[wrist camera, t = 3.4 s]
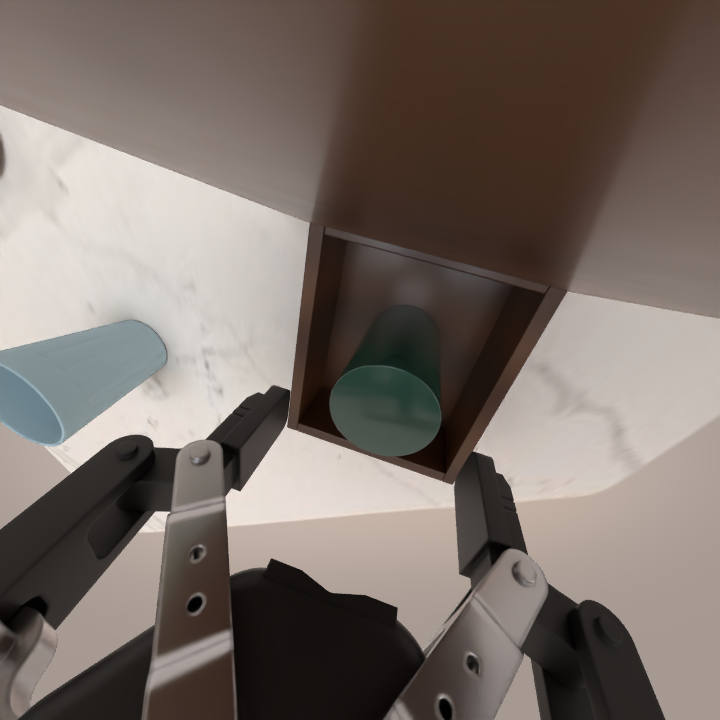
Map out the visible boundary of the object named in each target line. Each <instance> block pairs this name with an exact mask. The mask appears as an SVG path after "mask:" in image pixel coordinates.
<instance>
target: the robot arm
mask: <svg viewBox="0 0 720 720" xmlns="http://www.w3.org/2000/svg"><path fill="white" fill-rule="evenodd" d="M289 402H290V390H287V389H284V388H281V387H278V386H275V385H273V386H271V387H270V389H269V390H268V391H267V392H266V393H265V394H261V393H256V394H254V395H252V396H249V397H247V398H246V399H245V400H244V401H243V402H242V403H241V404H240V405H239V407H237V408H236V409H235V410H234V411H233V413H232V414H230V415H229V416H228V417H227V418H226V419H225V420H224V421H223V422H222V423H221V424H220V425H219V426H218V427H217V428H216V430H215V431H214V432H213V433H212V434H211V435H210V436H209V437H208V438H206V439H205V440H198V441H195V442H192V443H190V444H188V445H186V446H185V447H183V448H181V449H174V448H156V447H154V445H153V442H152V440H151V439H150V438H148V437H146V436H143V435H129V436H125V437H121V438H119V439H116V440H114V441H113V442H111V443H109V444H108V445H107V446H105V447H104V448H103V449H102V450H100V451H99V452H98V453H97V454H95V455H94V456H93V457H92V458H90V459H89V460H88V461H86V462H85V463H84V464H83V465H81V466H80V467H79V468H78V469H76V470H75V471H74V472H73V473H71V474H70V475H69V476H68V477H66V478H65V479H64V480H63V481H61V482H60V483H59V484H57V485H56V486H55V487H54V488H52V489H51V490H50V491H49V492H47V493H46V494H45V495H44V496H42V497H41V498H40V499H38V500H37V501H36V502H35V503H33V504H32V505H31V506H30V507H28V508H27V509H26V510H25V511H23V512H22V513H21V514H20V515H18V516H17V517H16V518H14V519H13V520H12V521H11V522H9V523H8V524H7V525H6V526H4V527H3V528H2V529H1V530H0V720H494V718H495V716H496V714H497V712H498V710H499V708H500V706H501V704H502V702H503V700H504V698H505V696H506V694H507V692H508V689H509V687H510V685H511V683H512V681H513V679H514V677H515V675H516V673H517V671H518V669H519V667H520V665H521V662H522V660H523V655H524V653H525V654H526V655H527V656H529V657H530V658H531V663H532V669H533V674H534V681H535V687H536V693H537V699H538V706H539V712H540V717H541V720H665V718H664V715H663V713H662V710H661V708H660V705H659V703H658V700H657V699H656V695H655V693H654V691H653V688H652V686H651V683H650V681H649V678H648V676H647V674H646V671H645V669H644V666H643V664H642V661H641V659H640V656H639V654H638V652H637V649H636V647H635V644H634V642H633V640H632V637H631V636H630V634H629V632H628V631H627V629H626V628H625V626H624V625H623V624H622V622H621V621H620V620H619V619H618V618H617V617H616V616H615V615H614V614H613V613H612V612H611V611H610V610H609V609H607V608H606V607H605V606H603V605H602V604H600V603H598V602H595V601H592V600H585V601H583V602H581V603H580V604H577V603H575V602H574V601H572V600H571V599H570V598H568V597H567V596H565V595H564V594H562V593H561V592H559V591H558V590H556V589H555V588H554V587H552V586H551V585H550V584H548V583H547V580H546V578H545V575H544V574H543V571H542V570H541V568H540V567H539V566H538V564H537V563H536V562H535V561H534V560H533V559H532V558H531V557H529V556H528V553H527V550H526V545H525V542H524V538H523V534H522V530H521V526H520V523H519V519H518V515H517V513H516V507H515V503H514V502H513V501H514V499H513V495H512V492H511V488H510V486H509V484H508V483H507V481H506V480H505V478H504V477H503V475H502V474H499V473H496V470H495V466H494V461H493V459H492V458H491V457H488V456H485V455H482V454H479V453H476V452H471V453H470V455H469V456H468V458H467V460H466V461H465V463H464V465H463V466H462V468H461V470H460V471H459V473H458V475H457V477H456V480H455V486H454V494H455V511H456V526H457V542H458V543H457V544H458V560H459V574H461V575H463V576H466V577H469V578H470V579H471V588H470V589H469V590H468V592H467V593H466V594H465V596H464V597H463V598H462V599H461V601H460V602H459V603H458V605H457V606H456V607H455V609H454V610H453V611H452V613H451V614H450V615H449V617H448V618H447V619H446V620H445V622H444V623H443V624H442V626H441V627H440V628H439V630H438V631H437V632H436V633H435V635H434V636H433V637H432V638H431V639H430V640H429V642H428V643H427V644H426V645H425V647H424V648H423V649H421V647H420V646H419V644H418V643H417V641H416V640H415V638H414V637H413V636H412V635H411V633H410V632H409V631H408V630H407V629H406V628H405V627H404V626H403V625H402V624H401V623H400V622H399V621H398V620H397V607H394V606H392V605H389V604H387V603H384V602H381V601H379V600H376V599H374V598H371V597H369V596H366V595H352V594H338V593H331V592H328V591H327V590H326V589H324V588H323V587H322V586H321V585H319V584H318V583H317V582H316V581H314V580H313V579H312V578H310V577H309V576H308V575H307V574H306V573H304V572H303V571H302V570H300V569H297V568H294V567H292V566H289V565H287V564H284V563H282V562H279V561H277V560H274V559H271V560H270V562H269V564H268V566H267V568H252V569H248V570H244V571H241V572H238V573H235V574H233V575H231V576H230V573H229V554H228V536H227V518H226V501H225V497H226V495H227V494H228V492H229V491H230V490H231V488H232V489H235V490H238V491H241V490H242V488H243V487H244V485H245V484H246V482H247V481H248V479H249V478H250V477H251V475H252V474H253V472H254V471H255V469H256V468H257V466H258V465H259V463H260V462H261V461H262V459H263V458H264V456H265V455H266V453H267V452H268V450H269V449H270V447H271V446H272V445H273V443H274V442H275V440H276V439H277V437H278V436H279V434H280V433H281V431H282V430H283V428H284V426H285V424H286V421H287V418H288V411H289ZM155 511H168V512H171V513H170V514H168V516H167V520H166V527H165V536H164V546H163V555H162V565H161V574H160V583H159V593H158V602H157V611H156V621H155V625H153V626H152V627H150V628H149V629H147V630H146V631H144V632H143V633H141V634H140V635H138V636H137V637H135V638H134V639H132V640H130V641H129V642H127V643H126V644H124V645H123V646H121V647H120V648H118V649H117V650H115V651H114V652H112V653H111V654H109V655H108V656H106V657H104V658H103V659H101V660H100V661H99V662H97V663H95V664H94V665H92V666H91V667H89V668H88V669H86V670H85V671H83V672H82V673H80V674H79V675H77V676H75V677H74V678H72V679H71V680H69V681H68V682H66V683H65V684H63V685H62V686H60V687H59V688H57V689H56V690H54V691H53V692H51V693H50V694H48V695H47V696H45V697H44V698H43V699H41V700H40V701H39V702H37V703H36V704H35V705H33V706H32V707H31V708H30V700H31V697H32V694H33V691H34V689H35V687H36V685H37V683H38V681H39V679H40V678H41V676H42V675H43V673H44V672H45V670H46V669H47V667H48V666H49V664H50V662H51V660H52V658H53V656H54V654H55V652H56V648H57V642H58V637H57V633H56V631H55V630H56V629H57V628H58V626H59V625H60V624H61V623H62V622H63V620H64V619H65V618H66V617H67V616H68V615H69V613H70V612H71V611H72V610H73V608H74V607H75V606H76V605H77V604H78V603H79V601H80V600H81V599H82V598H83V597H84V596H85V594H86V593H87V592H88V590H89V589H90V588H91V587H92V586H93V585H94V584H95V582H96V581H97V580H98V579H99V578H100V576H101V575H102V574H103V573H104V572H105V571H106V569H107V568H108V567H109V566H110V565H111V563H112V562H113V561H114V560H115V559H116V557H117V556H118V555H119V554H120V553H121V552H122V550H123V549H124V548H125V547H126V546H127V544H128V543H129V542H130V541H131V540H132V538H133V537H134V536H135V535H136V534H137V532H138V531H139V530H140V529H141V528H142V527H143V525H144V524H145V523H146V522H147V521H148V519H149V518H150V517H151V516H152V515H153V513H154V512H155ZM29 708H30V709H29Z"/></svg>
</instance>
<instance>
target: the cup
mask: <svg viewBox="0 0 720 720" xmlns="http://www.w3.org/2000/svg"><path fill="white" fill-rule="evenodd" d="M166 360H167V353H166V349H165V346H164V344H163V342H162V340H161V339H160V337H159V336H158V335H157V334H156V333H155V332H154V331H153V330H152V329H151V328H150V327H148V326H147V325H145V324H143V323H141V322H139V321H134V320H126V321H122V322H118V323H113V324H109V325H105V326H101V327H97V328H93V329H89V330H85V331H80V332H76V333H72V334H68V335H64V336H60V337H56V338H52V339H48V340H44V341H39V342H35V343H31V344H27V345H23V346H19V347H15V348H10V349H6V350H2V351H0V421H1V422H2V423H3V424H4V425H6V426H7V427H8V428H10V429H11V430H12V431H14V432H15V433H17V434H19V435H20V436H22V437H24V438H25V439H28V440H30V441H32V442H35V443H37V444H40V445H44V446H57V445H60V444H62V443H63V442H64V441H66V440H67V439H68V438H70V437H71V436H72V435H73V434H75V433H76V432H77V431H79V430H80V429H81V428H83V427H84V426H85V425H87V424H88V423H89V422H90V421H92V420H93V419H94V418H96V417H97V416H98V415H100V414H101V413H102V412H104V411H105V410H106V409H108V408H109V407H110V406H112V405H113V404H114V403H116V402H117V401H118V400H120V399H121V398H122V397H124V396H125V395H126V394H128V393H129V392H130V391H132V390H133V389H134V388H136V387H137V386H138V385H139V384H141V383H142V382H143V381H145V380H146V379H147V378H149V377H150V376H151V375H153V374H154V373H155V372H157V371H158V370H159V369H161V368H162V367H163V366H164V365H165V363H166Z"/></svg>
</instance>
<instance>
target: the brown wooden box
mask: <svg viewBox="0 0 720 720" xmlns="http://www.w3.org/2000/svg"><path fill="white" fill-rule="evenodd" d="M566 293H567V291H565V290H561V289H558V288H554V287H550V286H546V285H543V284H539V283H535V282H531V281H528V280H524V279H520V278H516V277H513V276H509V275H505V274H501V273H497V272H494V271H490V270H486V269H482V268H479V267H475V266H471V265H467V264H464V263H460V262H456V261H452V260H449V259H445V258H441V257H437V256H434V255H430V254H426V253H422V252H418V251H415V250H411V249H407V248H403V247H400V246H396V245H392V244H388V243H385V242H381V241H377V240H373V239H370V238H366V237H362V236H358V235H354V234H351V233H347V232H343V231H339V230H336V229H332V228H328V227H324V226H321V225H317V224H313V223H310V227H309V236H308V245H307V254H306V263H305V272H304V281H303V290H302V299H301V308H300V317H299V326H298V335H297V344H296V353H295V362H294V371H293V380H292V389H291V398H290V407H289V416H288V425H287V427H288V428H291V429H294V430H297V431H299V432H302V433H305V434H308V435H311V436H314V437H317V438H320V439H322V440H325V441H328V442H331V443H334V444H337V445H340V446H343V447H345V448H348V449H351V450H354V451H357V452H360V453H363V454H366V455H368V456H371V457H374V458H377V459H380V460H383V461H386V462H389V463H392V464H394V465H397V466H400V467H403V468H406V469H409V470H412V471H415V472H417V473H420V474H423V475H426V476H429V477H432V478H435V479H438V480H440V481H441V480H442V481H443V482H446V483H449V484H452V485H453V483H454V482H455V480H456V477H457V475H458V473H459V471H460V470H461V468H462V466H463V465H464V463H465V461H466V460H467V458H468V456H469V455H470V453H471V452H472V451H473V449H474V448H475V446H476V444H477V443H478V441H479V439H480V438H481V436H482V434H483V433H484V431H485V429H486V428H487V426H488V424H489V422H490V421H491V419H492V417H493V416H494V414H495V412H496V411H497V409H498V407H499V406H500V404H501V402H502V401H503V399H504V397H505V395H506V394H507V392H508V390H509V389H510V387H511V385H512V384H513V382H514V380H515V379H516V377H517V375H518V374H519V372H520V370H521V368H522V367H523V365H524V363H525V362H526V360H527V358H528V357H529V355H530V353H531V352H532V350H533V348H534V347H535V345H536V343H537V342H538V340H539V338H540V336H541V335H542V333H543V331H544V330H545V328H546V326H547V325H548V323H549V321H550V320H551V318H552V316H553V315H554V313H555V311H556V309H557V308H558V306H559V304H560V303H561V301H562V299H563V298H564V296H565V294H566ZM396 305H410V306H414V307H417V308H420V309H421V310H423V311H425V312H426V313H428V314H429V315H430V316H431V317H432V318H433V319H434V321H435V322H436V324H437V326H438V328H439V331H440V336H441V424H440V428H439V431H438V433H437V434H436V436H435V438H434V439H433V440H432V441H431V442H430V443H429V444H428V445H427V446H426V447H424V448H423V449H421V450H419V451H417V452H415V453H412V454H409V455H404V456H382V455H377V454H374V453H370V452H368V451H365V450H363V449H361V448H359V447H357V446H356V445H354V444H353V443H351V442H350V441H349V440H348V439H346V438H345V437H344V436H343V435H342V433H341V432H340V431H339V430H338V428H337V427H336V425H335V423H334V421H333V419H332V416H331V412H330V395H331V392H332V389H333V387H334V385H335V384H336V382H337V380H338V379H339V377H340V375H341V373H342V372H343V370H344V368H345V367H346V365H347V363H348V361H349V360H350V358H351V356H352V355H353V353H354V351H355V349H356V348H357V346H358V344H359V343H360V341H361V339H362V338H363V336H364V334H365V332H366V331H367V329H368V327H369V326H370V324H371V322H372V321H373V319H374V318H375V317H376V316H377V315H378V314H379V313H380V312H381V311H383V310H385V309H387V308H389V307H392V306H396Z"/></svg>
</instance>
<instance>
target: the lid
mask: <svg viewBox="0 0 720 720" xmlns="http://www.w3.org/2000/svg"><path fill="white" fill-rule="evenodd" d="M0 105H1V106H4V107H6V108H9V109H12V110H14V111H17V112H19V113H22V114H25V115H27V116H30V117H33V118H35V119H38V120H40V121H43V122H46V123H48V124H51V125H54V126H56V127H59V128H61V129H64V130H67V131H69V132H72V133H75V134H77V135H80V136H83V137H85V138H88V139H90V140H93V141H96V142H98V143H101V144H104V145H106V146H109V147H111V148H114V149H117V150H119V151H122V152H125V153H127V154H130V155H132V156H135V157H138V158H140V159H143V160H146V161H148V162H151V163H153V164H156V165H159V166H161V167H164V168H167V169H169V170H172V171H175V172H177V173H180V174H182V175H185V176H188V177H190V178H193V179H196V180H198V181H201V182H203V183H206V184H209V185H211V186H214V187H217V188H219V189H222V190H224V191H227V192H230V193H232V194H235V195H238V196H240V197H243V198H246V199H248V200H251V201H253V202H256V203H259V204H261V205H264V206H267V207H269V208H272V209H274V210H277V211H280V212H282V213H285V214H288V215H290V216H293V217H295V218H298V219H301V220H303V221H306V222H309V223H313V224H317V225H321V226H324V227H328V228H332V229H336V230H339V231H343V232H347V233H351V234H354V235H358V236H362V237H366V238H370V239H373V240H377V241H381V242H385V243H388V244H392V245H396V246H400V247H403V248H407V249H411V250H415V251H418V252H422V253H426V254H430V255H434V256H437V257H441V258H445V259H449V260H452V261H456V262H460V263H464V264H467V265H471V266H475V267H479V268H482V269H486V270H490V271H494V272H497V273H501V274H505V275H509V276H513V277H516V278H520V279H524V280H528V281H531V282H535V283H539V284H543V285H546V286H550V287H554V288H558V289H561V290H565V291H569V292H573V293H579V294H584V295H590V296H596V297H601V298H607V299H612V300H618V301H624V302H629V303H635V304H640V305H646V306H652V307H657V308H663V309H668V310H674V311H680V312H685V313H691V314H696V315H702V316H707V317H713V318H719V319H720V0H0Z"/></svg>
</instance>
